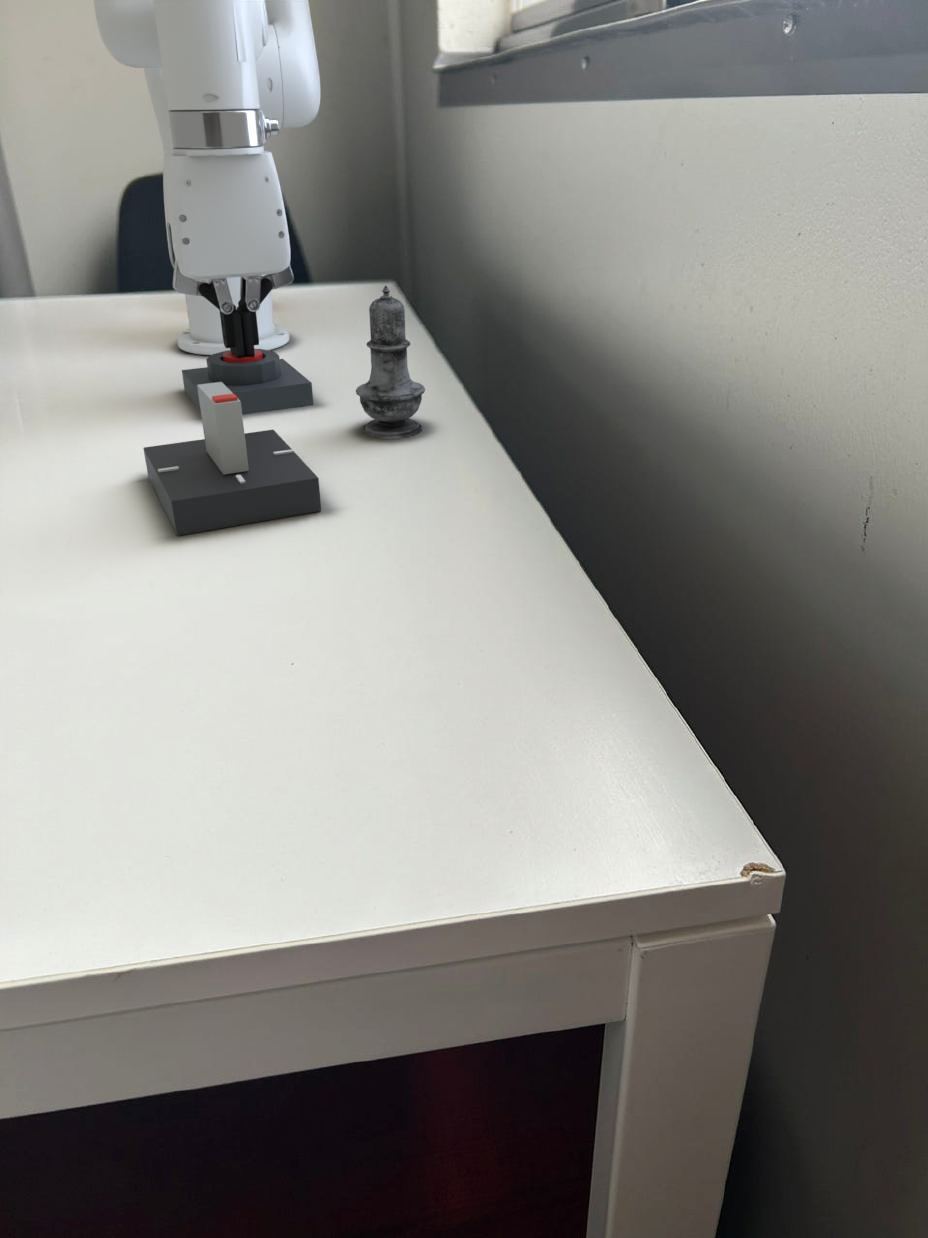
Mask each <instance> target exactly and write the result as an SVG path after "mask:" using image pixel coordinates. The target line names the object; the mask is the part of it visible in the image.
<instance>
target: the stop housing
mask: <svg viewBox="0 0 928 1238" xmlns="http://www.w3.org/2000/svg"><path fill="white" fill-rule="evenodd" d="M256 350H260V351H261V352H262V356H263V359H261V360H257V361H253V362H244V363H230V362H225V361H224V360H223V354H224V353H225V352H227V351H223V352H219V353H216V354H212V355H209V356H208V357H207V358H206V359H205V361H206V366H205V367H197V368H188V369H181V375H182V382H183V389H184V393H185V394H186V396H187V397H188V399H190V401H191V402H192V403H193V405H194V407H196V409H197V410H198V411H199V413H200V414H201V409H200V402H199V395H198V388H197V385H200V384H208V383H216V382H222V383H223V384H224V385H225V386H226V387H227V388H228V389H229V390H230V391H231V392H232V393H234V394H235V395H236V396H237V398H238V399H239V400H240V401H241V409H242V416H243V415H251V414H259V413H266V412H273V411H274V412H275V411H281V410H289V409H297V408H303V407H311V406H314V395H313V383H312V381H310V380H309V379H308V378H307V377H306V376H304V375H303V374H302V373H301V372H299V371H298V370H297V369H296V368H295V367H293V366H292V364H290V363H289V362H287V361H286V360H285V359H284V358H280V355H279V354H278V353H277V352H276V351H273V350H264V349H256ZM228 351H231V350H228Z"/></svg>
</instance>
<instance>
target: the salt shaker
mask: <svg viewBox="0 0 928 1238" xmlns="http://www.w3.org/2000/svg"><path fill="white" fill-rule="evenodd" d="M381 292H382V293H383V295H381V296H380V297H379V298H376V299H374V300H373V301H372V302H371V304H370V305H369V309H368V311H369V312H368V313H369V314H368V315H369V330H370V331H369V332H370V339H369V341H367V343H366V347H367V348H369V349H370V350H369V351H370V363H371V364H370V366H371V369H370V375H369V380H368V381H367V382H365V383H362V384H360V385H359V386H357V387H356V389H355V394H356V395H357V396H358V397H359V402H360V405H361V407H362V409H363V411H364V413H365V414H366V415H368V416H369V417H370V418H371V420H370V421H368V422H367V423H366V424H365V425H363V426H362V428H361V432H362V434H363V435H365V436H367V437H370V438H373V439H380V440H381V439H382V440H397V439H399V440H400V439H407V438H410V437H415V436H417V435H419V434H420V433H422V431H423V429H424V426H423V425H421V424H420V423H419V422H417V420H414V419H412V417H413V416H414V415H415V414H416V413H417V412H418V410H419V409H420V406H421V403H422V400H423V397H422V395H423V394H425V391H426V388H425V386H424V385H423V384H422V383H419V382H416V381H414V380H412V378H411V376H410V373H409V372H410V371H409V367H408V348H409V347H410V346H411V342H410V341H409V340H408V339H406V314H405V313H406V311H405V306H404V304H403V303H402V301H401V300H399V299H398V298H395V297H393V296H392V295H390V292H391V290H390V289H389V287H388V286H387V285H384V287H383V289H381Z"/></svg>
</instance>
